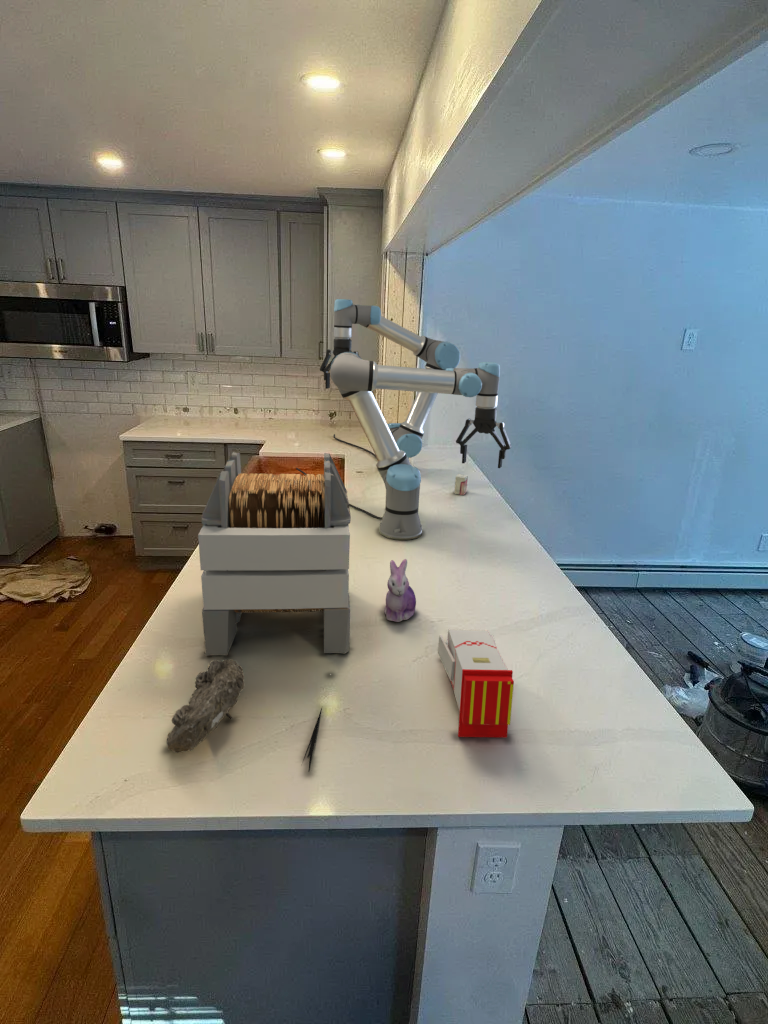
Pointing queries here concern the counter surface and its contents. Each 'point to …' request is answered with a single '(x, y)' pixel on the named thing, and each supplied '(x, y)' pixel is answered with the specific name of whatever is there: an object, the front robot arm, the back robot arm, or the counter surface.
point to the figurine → (399, 594)
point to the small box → (461, 484)
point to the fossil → (206, 705)
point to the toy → (478, 682)
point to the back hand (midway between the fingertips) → (341, 389)
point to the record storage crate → (275, 551)
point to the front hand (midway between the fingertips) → (481, 465)
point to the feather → (313, 740)
